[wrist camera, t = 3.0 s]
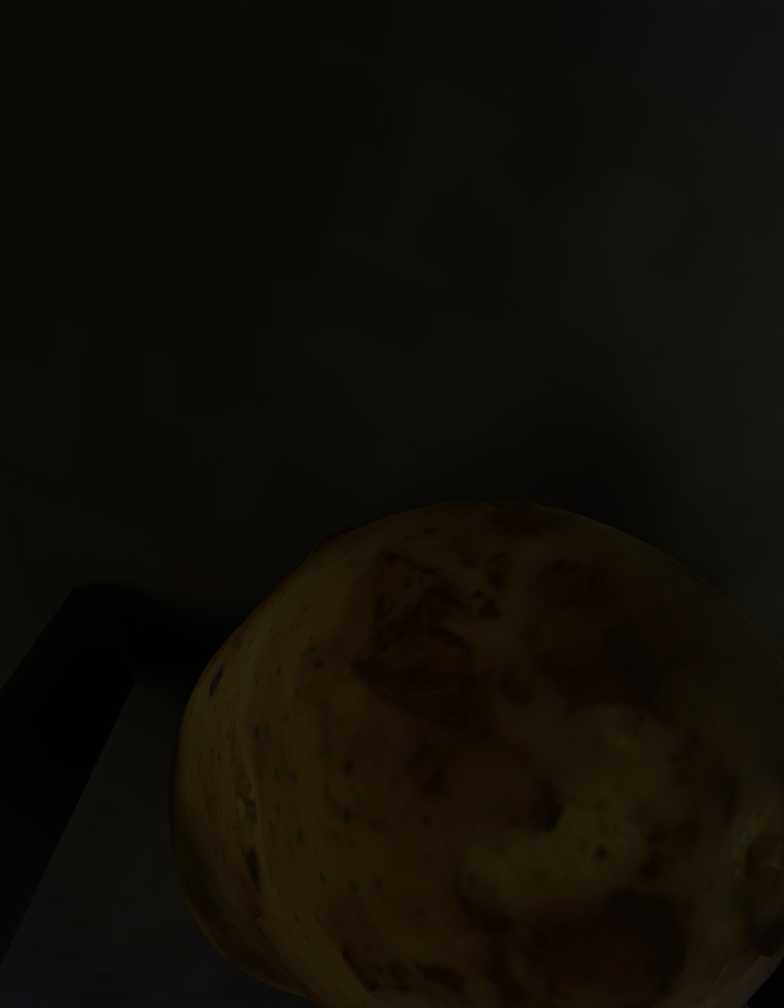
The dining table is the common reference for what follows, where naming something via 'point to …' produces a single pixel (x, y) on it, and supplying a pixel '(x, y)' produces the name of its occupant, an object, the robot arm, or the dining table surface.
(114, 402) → the dining table surface
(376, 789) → the potato
